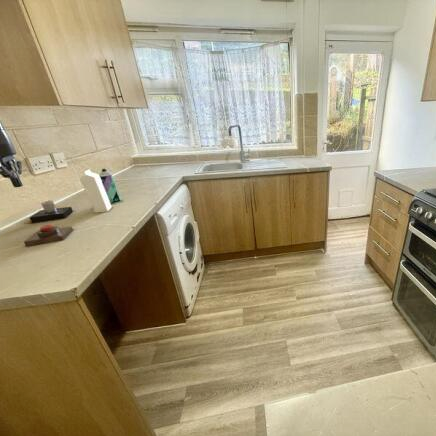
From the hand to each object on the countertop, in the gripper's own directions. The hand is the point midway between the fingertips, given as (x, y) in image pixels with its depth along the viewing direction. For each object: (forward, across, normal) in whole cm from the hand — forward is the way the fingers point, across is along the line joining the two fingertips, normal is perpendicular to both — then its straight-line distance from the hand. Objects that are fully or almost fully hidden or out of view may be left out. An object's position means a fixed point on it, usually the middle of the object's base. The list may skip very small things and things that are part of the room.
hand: (18, 186), depth 100 cm
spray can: (+21, -32, +22) cm, 44 cm away
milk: (+21, -19, +19) cm, 34 cm away
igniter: (+21, +9, +7) cm, 24 cm away
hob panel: (+21, -20, -3) cm, 29 cm away
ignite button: (+17, +9, +7) cm, 21 cm away
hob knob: (+18, -20, -3) cm, 27 cm away
